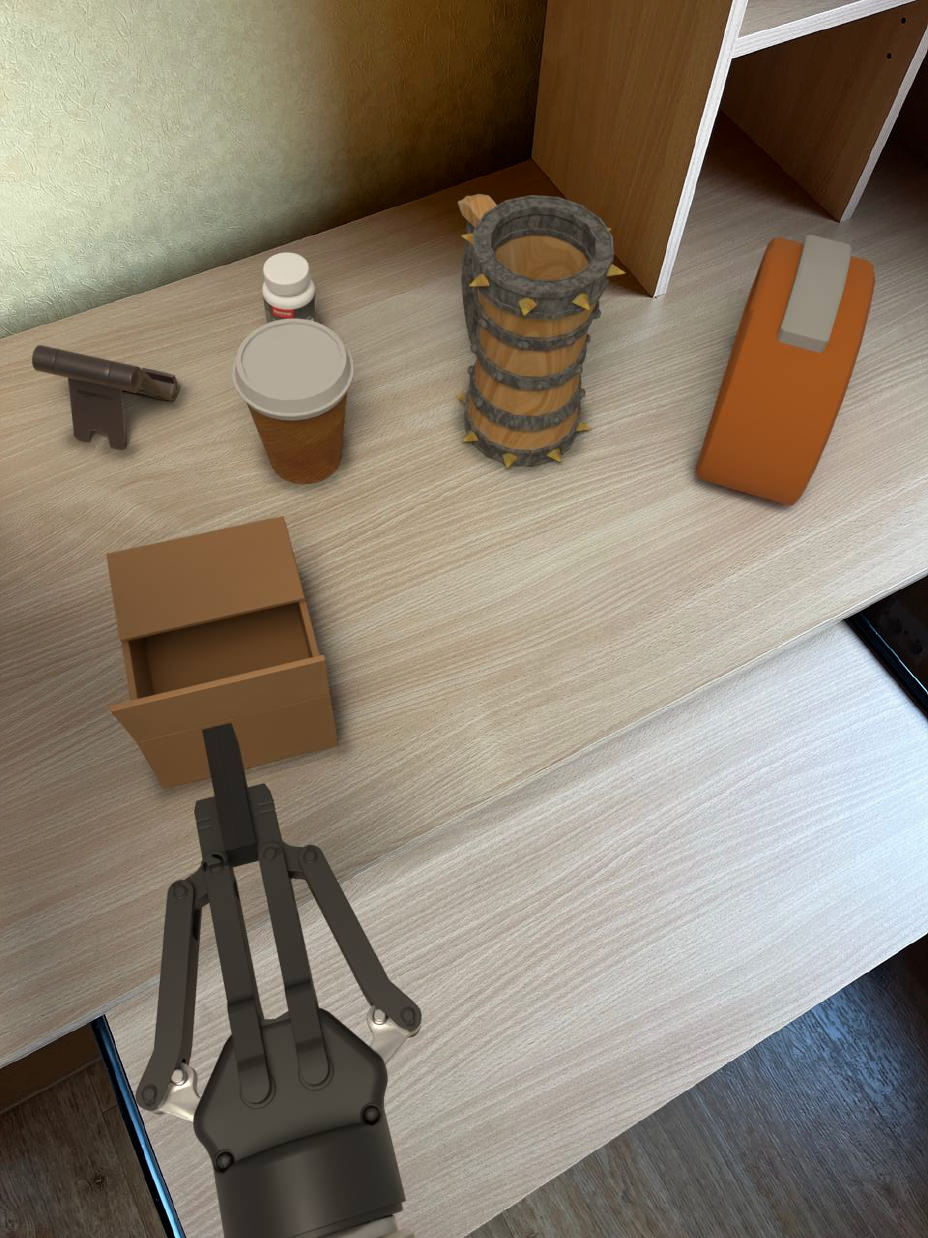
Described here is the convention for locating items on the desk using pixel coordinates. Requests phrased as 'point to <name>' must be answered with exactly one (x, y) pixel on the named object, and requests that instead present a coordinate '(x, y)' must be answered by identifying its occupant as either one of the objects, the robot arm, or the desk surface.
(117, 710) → the flap
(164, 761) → the carton
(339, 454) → the disposable coffee cup
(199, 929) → the robot arm
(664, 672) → the desk surface
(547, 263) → the mug
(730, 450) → the alarm clock
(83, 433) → the tablet stand
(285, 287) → the pill bottle
